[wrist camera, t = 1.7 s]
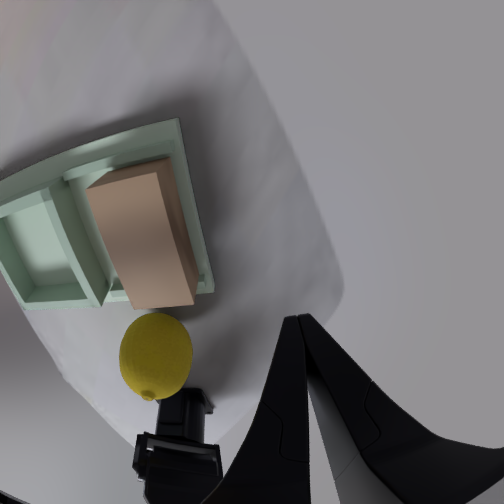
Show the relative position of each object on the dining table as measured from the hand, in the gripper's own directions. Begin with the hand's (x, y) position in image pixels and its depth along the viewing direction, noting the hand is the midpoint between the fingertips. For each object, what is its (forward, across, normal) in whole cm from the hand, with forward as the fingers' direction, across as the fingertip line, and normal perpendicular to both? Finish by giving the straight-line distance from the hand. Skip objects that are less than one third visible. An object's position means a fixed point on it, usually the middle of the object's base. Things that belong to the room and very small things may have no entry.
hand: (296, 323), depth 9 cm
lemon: (+10, +9, +9) cm, 17 cm away
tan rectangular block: (+9, +7, 0) cm, 11 cm away
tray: (+10, +13, 0) cm, 16 cm away
